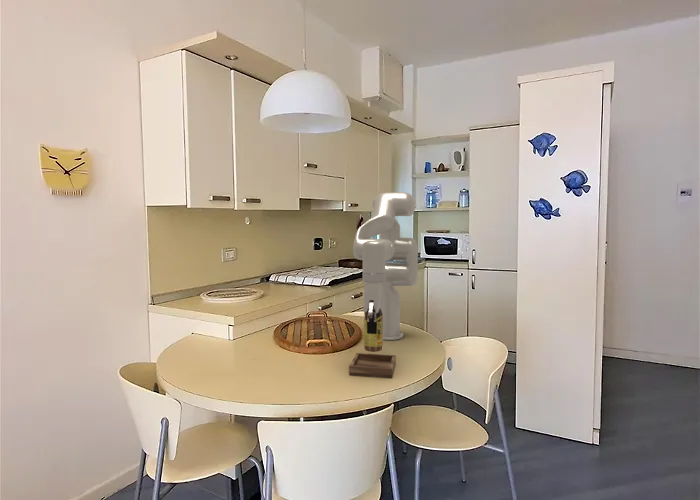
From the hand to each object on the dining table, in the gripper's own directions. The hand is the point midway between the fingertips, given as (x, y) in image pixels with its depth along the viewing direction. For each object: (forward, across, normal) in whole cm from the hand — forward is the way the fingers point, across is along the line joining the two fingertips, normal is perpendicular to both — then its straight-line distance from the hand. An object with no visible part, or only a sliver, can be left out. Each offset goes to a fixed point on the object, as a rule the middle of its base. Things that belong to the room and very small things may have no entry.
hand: (373, 330), depth 149 cm
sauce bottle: (+7, 0, 0) cm, 7 cm away
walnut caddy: (+13, 0, 0) cm, 13 cm away
